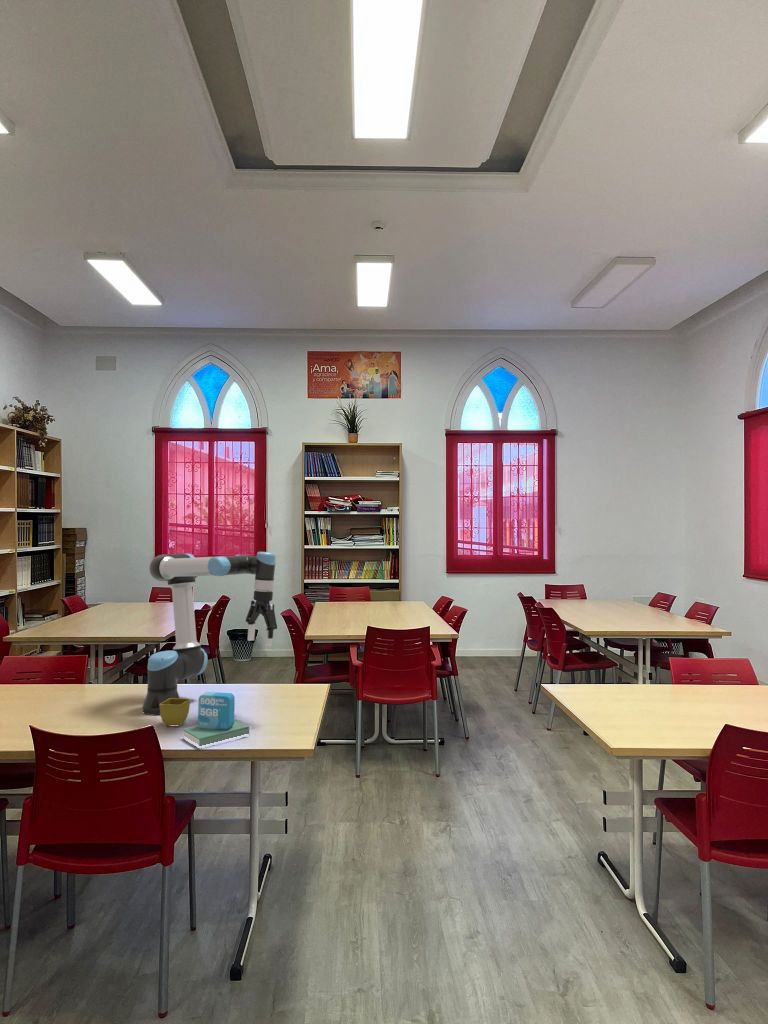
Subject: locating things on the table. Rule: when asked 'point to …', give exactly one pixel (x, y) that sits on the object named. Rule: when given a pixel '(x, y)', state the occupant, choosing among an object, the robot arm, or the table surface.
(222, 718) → the data package
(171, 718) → the flower pot
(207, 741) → the green book
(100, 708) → the table surface
